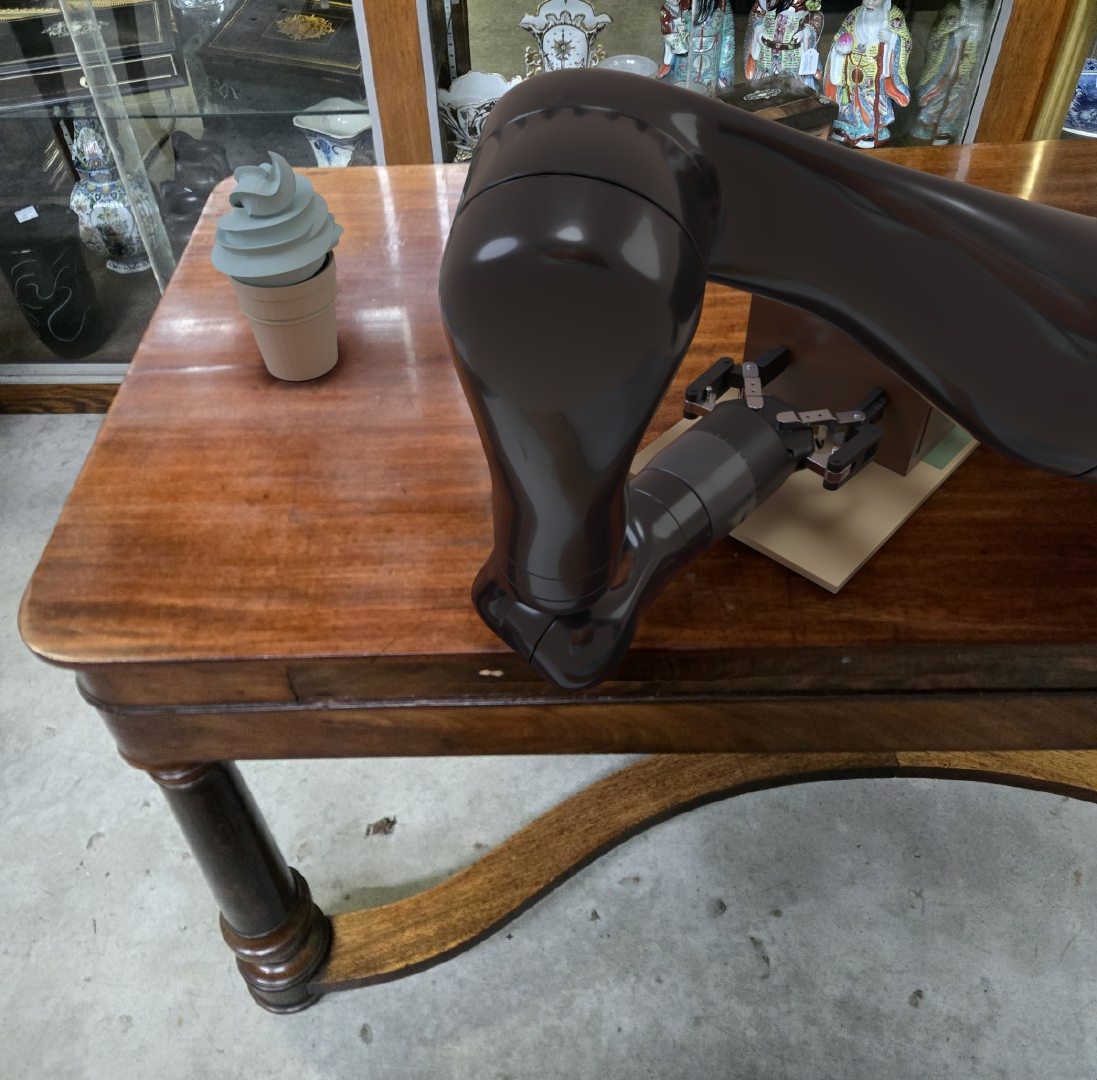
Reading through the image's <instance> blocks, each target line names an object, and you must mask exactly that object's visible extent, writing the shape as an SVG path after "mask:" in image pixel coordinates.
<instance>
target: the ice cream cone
mask: <svg viewBox="0 0 1097 1080" xmlns="http://www.w3.org/2000/svg"><path fill="white" fill-rule="evenodd" d="M267 153H268V155H269V157H270V158H271V164H270V163H267V162H263V163H260V165H258V166H256V165H242V166H237V167H236V169H234V171H233V178H234V180H235V181H236V183H237V185H236V186H235V187H234V188H233V190H232V191H231V192H230V193H229V195H228V202H229V205H230V206H231V207H232V208H233V209H232V210H231V211H229V212H226V213H225V214H223V215H222V216H220V217H219V218H218V219H217V220H216V226H215V227H217V228H216V229H215V231H214V234H213V235H214V236H213V237H214V241H215V242H216V243H215V244H214V246H213V247H212V249H211V252H210V262H211V264H212V266H213V267H214V268H215V270H217V271H218V272H220V273H222V274H224V275H227V278H228V281H229V284H230V287H231V288H232V289H233V291H234V295H235V298H236V301H237V304H238V306H239V308H240V310H241V312H242V314H243V315H244V316H245V317H246V319H247V321H248V324H249V326H250V329H251V331H252V334H253V336H254V339H255V341H256V344H257V346H258V348H259V351H260V353H261V357H262V359H263V361H264V363H265V366H266V369H267V370H268V373H270V374H271V375H272V376H273V377H275V378H278V379H280V380H284V381H290V382H291V381H292V382H302V381H308V380H313V379H316V378H319V377H321V376H323V375H325V374H327V373H328V372H330V371H331V370H333V368H334V367H335V366H336V364H337V362H338V360H339V350H338V349H339V348H338V333H337V332H338V329H337V312H336V301H337V298H338V281H337V274H336V273H337V263H336V256H335V252H334V250H333V249H335V248H336V247H337V246H339V244H340V238H341V237H342V235H343V234H344V232H345V228H344V226H342V225H341V224H338V223H337V222H335V220H336V216H335V215H334V214H333V213H332V212H329V206H328V202H327V201H326V199H325V197H323V196H322V195H321V194H320V193H319V192H317V191H315V188H314V184H313V182H312V181H311V180H310V179H309V178H308V176H305V175H304V174H301V173H298V172H294V169H293V168H292V166H291V164H290V163H289V162H288V161H287V159H286V158H285V157H284V156H282V155H281V154H279V153H278V152H276V151H275V152H274V151H271V150H267Z"/></svg>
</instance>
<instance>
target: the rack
mask: <svg viewBox="0 0 1097 1080" xmlns="http://www.w3.org/2000/svg"><path fill="white" fill-rule="evenodd" d="M747 319H748V320H747V325H746V326H747V327H746V334H745V340H744V347H743V357H742V361H741V362H742V363H741V365H743V364H744V363H745V362H753V361H754V360H756V359H757V358H758V357H759V356H761V355H762V354H763V353H765V352H766V351H767V350H770V349H777V348H778V347H779V346H783V347H786V348H788V349H789V356H788V362H787V367H786V369H785V370H784V372H782V373H781V374H780V375H779V376H777V377H776V378H775V379H774V380H773V381H771V382H770V383H769V384H768V385H766V386H765V387H764V388H763V389H761V390H762V395H764V396H771V395H775V396H777V397H779V398H781V399H782V400H784V401H785V402H786V403H788V404H791V405H794V406H798V407H800V408H802V409H805V410H807V411H814V410H822V409H831V410H832V412H833V413H839V412H846V411H852V409H853V407H854V406H855V405H856V404H858V403H859V402H860V401H861V400H862V399H863V398H864V397H865V396H866V395H868V394H869V393H870V392H871V391H872V390H873V389H874V388H876V387H877V388H879V389H881V390H883V391H885V394H884V398H885V399H887V401H886V405H885V409H884V413H883V416H882V419H880V420H879V421H878V422H877V423H876V425H879V426H881V427H882V428H883V434H882V438H881V442H880V445H879V449H878V453H877V457H876V458H875V459H874V460H873V462H875V463H877V464H879V465H881V466H884V467H886V468H888V469H890V470H892V471H894V472H896V473H898V474H900V475H902V476H904V477H905V476H906V475H907V474H908V473H909V472H910V471H911V470H912V469H913V468H914V467H915V466H916V465H917V464H918V463H919V462H920V461H921V460H922V459H923V458H924V457H925V456H926V455H927V454H928V453H929V452H930V451H931V450H932V449H933V448H934V447H935V446H936V445H937V444H938V443H939V442H940V441H941V440H942V439H943V438H944V437H945V436H946V435H947V434H948V433H949V432H950V431H951V430H952V429H953V428H954V427H955V426H956V425H955V424H954V423H953V422H951V421H950V420H949V419H947V418H946V417H945V416H943V415H942V414H941V413H940V412H938V411H937V410H936V409H934V408H933V407H932V406H930V405H929V404H928V403H927V402H926V401H924V400H923V399H922V398H921V397H920V396H918V395H917V394H916V393H915V392H914V391H912V390H911V389H910V388H909V387H908V386H906V385H905V384H904V383H903V382H902V381H901V380H899V379H898V378H897V377H896V376H895V375H894V374H892V373H891V372H890V371H889V370H888V369H887V368H885V367H884V366H883V365H882V364H881V363H880V362H878V361H877V360H876V359H875V358H874V357H872V356H871V355H870V354H869V353H867V352H866V351H865V350H864V349H862V348H861V347H860V346H859V345H857V344H856V343H855V342H853V341H852V340H851V339H849V338H848V337H847V336H845V335H844V334H842V333H841V332H839V331H837V330H836V329H834V328H832V327H831V326H829V325H827V324H826V323H824V322H823V321H821V320H819V319H817V318H815V317H813V316H811V315H809V314H807V313H804V312H802V311H800V310H798V309H795V308H793V307H790V306H788V305H785V304H783V303H780V302H778V301H774V300H771V299H767V298H764V297H761V296H757V295H754V294H751V297H750V304H749V312H748V318H747ZM738 397H739V391H738ZM819 427H820V426H815V427H813V433H814V434H817V435H818V431H819ZM845 430H846V427H842V428H838V429H837V430H836V432H835V433H839V432H845Z"/></svg>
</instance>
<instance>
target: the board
mask: <svg viewBox="0 0 1097 1080" xmlns="http://www.w3.org/2000/svg"><path fill="white" fill-rule="evenodd" d="M738 391H739V389H737V388H732V387H731V388H730V389H729V390H728V391H727V392H726V393H725V394H723V395H722V396H721V397H720V398H719V399H718V400H717V401H716V402H715V403H716V404H718V403H719V402H721V401H726V400H733V399H739V397H738ZM701 418H702V416H699V417H698V418H697V419H695V420H688V419H686V418H684V417H683V418H682V419H681V420H679V421H678V422H677V423H675V424H674V425H673V426H672V427H670V428H669V429H667V430H666V431H665V432H664V433H662V434H661V435H660V436H658V437H657V438H656V439H655V440H653V441H652V442H651V443H649V444H648V445H646V446H645V447H644V448H642V449H641V450H640V451H639V452H638V453H636V455H635V457H634V460H633V462H632V465H631V468H630V471H629V474H628V480H630V479H631V478H633V477H634V476H635V475H636V474H638V473H639V472H640V471H641V470H642V469H643V468H644V467H645V466H646V464H647V463H648V462H649V461H650V460H651V459H652V458H653V457H654V456H655V455H656V454H657V453H658V452H659V451H661V450H662V449H663V448H664V447H666V446H667V445H668V444H670V443H671V442H672V441H673V440H675V439H676V438H677V437H678V436H679V435H681V434H682V433H683V432H685V431H686V430H687V429H688V428H690V427H691V426H692V425H693V424H695V423H696V422H697V421H698V420H700V419H701ZM813 434H814V433H813ZM817 436H818V435H817V434H814V439H816V437H817ZM981 444H982V443H980V442H978V441H977V440H976V439H974V438H973V437H971V436H970V435H969V434H967V433H966V432H964V431H963V430H962V429H960V428H959V427H958V426H955V427H954V428H953V429H952V430H951V431H950V432H949V433H948V434H947V435H946V436H945V437H944V438H943V439H942V440H941V441H940V442H939V443H938V444H937V445H936V446H935V447H934V448H933V449H932V450H931V451H930V452H929V453H928V454H927V455H926V456H925V457H924V458H923V459H922V460H921V461H920V462H919V463H918V464H917V465H916V466H915V467H914V468H913V469H912V470H911V471H910V472H909V473H908V474H907V475H906V476H905V477H904V476H902V475H900V474H898V473H896V472H894V471H892V470H890V469H888V468H886V467H884V466H881V465H879V464H877V463H875V462H873V461H872V462H871V463H869V464H868V465H867V466H866V467H864V468H863V469H862V470H861V471H860V472H858V473H857V474H856V475H855V476H854V477H852V478H851V479H850V480H849V481H848V482H846V483H845V484H844V485H843V486H841V487H840V488H839V489H838V490H836V491H829V490H826V489H825V488H824V487H823V485H822V484H823V479H824V477H822V476H820V475H818V474H816V473H815V472H813V471H811V470H809V469H805V470H802V471H798V472H795V473H793V474H791V475H790V476H789V477H788V479H787V480H786V481H785V482H784V483H783V485H782V486H781V487H780V488H779V489H778V490H777V491H775V492H774V493H773V494H772V495H771V496H770V497H769V498H768V499H767V500H766V501H764V502H763V503H762V504H761V505H760V506H759V507H758V508H757V509H756V510H755V511H753V512H752V513H751V514H750V515H749V517H748V518H747V519H746V520H745V521H744V522H743V523H741V524H739V525H738V526H737V527H736V528H735V529H734V530H732V531H731V532H730V533H729V534H728V535H729V536H731V537H732V538H735V540H738V541H739V542H740V543H743V544H745V545H746V546H748V547H750V548H752V549H754V550H756V551H757V552H759V553H761V554H763V555H765V556H766V557H768V558H770V559H772V560H774V562H777V563H779V564H780V565H782V566H784V567H785V568H788V569H789V570H791V571H793V572H795V573H797V574H798V575H800V576H802V577H804V578H805V579H807V580H809V581H810V582H812V583H814V584H816V585H818V586H820V587H821V588H823V589H825V590H827V591H829V593H830V592H831V593H832V594H834V595H837V593H838V592H839V591H840V590H841V589H843V587H844V586H846V584H847V583H848V582H849V581H850V580H851V579H852V578H853V577H854V575H855V574H857V573H858V571H860V569H862V567H863V566H864V565H865V564H866V563H867V562H868V561H869V560H870V559H871V558H872V557H873V556H874V555H875V554H876V553H877V552H878V551H879V549H881V547H883V545H885V544H886V542H887V541H888V540H889V539H890V538H891V537H892V536H893V535H894V534H895V533H896V532H897V531H898V530H899V529H900V528H901V527H902V526H903V524H905V522H907V521H908V519H910V517H911V516H913V514H914V513H916V511H917V510H918V509H919V508H920V507H921V506H922V505H923V504H924V503H925V502H926V501H927V500H928V499H929V498H930V497H931V496H932V494H934V493H935V492H936V490H938V489H939V487H941V485H943V484H944V482H945V481H946V480H947V479H948V478H949V477H950V476H951V475H952V474H953V473H954V472H955V471H956V470H957V469H958V467H960V466H961V465H962V463H964V461H966V459H968V457H969V456H971V454H972V453H973V452H974V451H975V450H977V448H979V446H980V445H981Z"/></svg>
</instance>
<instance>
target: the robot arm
mask: <svg viewBox="0 0 1097 1080" xmlns="http://www.w3.org/2000/svg"><path fill="white" fill-rule="evenodd" d="M449 229H450V230H449V234H448V235H447V239H446V241H445V246H444V249H443V253H442V257H441V261H440V266H439V276H438V291H437V292H438V295H437V296H438V307H439V311H440V318H441V324H442V328H443V332H444V337H445V340H446V343H447V347H448V350H449V353H450V356H451V360H452V363H453V366H454V368H455V372H456V374H457V378H458V380H459V382H460V383H459V384H460V385H461V388H462V390H463V394H464V397H465V399H466V402H467V404H468V407H469V409H470V412H471V415H472V417H473V420H474V424H475V426H476V430H477V433H478V436H479V438H480V442H481V445H482V449H483V452H484V456H485V458H486V461H487V465H488V469H489V470H488V471H489V474H490V481H491V497H492V499H491V500H492V527H493V547H492V550H491V551H490V553H489V556H488V557H487V559H486V560H485V562H484V563H483V564H482V566H481V567H480V569H479V571H478V572H477V574H476V576H475V578H474V580H473V582H472V585H471V589H470V598H471V602H472V606H473V608H474V610H475V612H476V614H477V615H478V617H479V618H480V620H481V621H482V622H483V624H484V625H485V626H486V627H487V628H488V629H489V630H490V631H491V632H492V633H493V634H495V636H497V638H499V639H500V640H501V641H502V642H503V643H504V644H506V645H507V646H508V648H510V649H511V650H512V651H513V652H514V653H515V654H516V655H517V656H519V657H520V658H521V659H522V660H523V661H525V662H526V663H527V664H528V665H529V666H530V667H531V668H532V669H533V671H535V672H536V673H537V674H538V675H539V676H540V677H541V678H543V680H544V681H546V682H547V683H548V684H550V685H551V686H552V687H554V688H555V689H557V690H560V691H561V692H566V693H581V692H585V691H589V690H591V689H594V688H596V687H598V686H600V685H601V684H603V683H604V682H606V681H607V680H608V679H609V678H610V677H611V676H613V674H614V672H616V670H617V669H618V667H619V665H620V664H621V662H623V659H624V658H625V656H626V655H627V653H628V651H629V649H630V647H631V646H632V643H633V641H634V639H635V637H636V635H637V634H638V632H639V629H640V628H641V627H642V624H643V622H644V620H645V619H646V617H647V615H648V614H649V612H650V610H651V608H653V606H654V604H655V603H656V601H657V600H658V598H660V596H661V595H662V593H663V592H664V591H665V590H666V588H667V587H668V586H669V585H670V584H671V583H672V582H673V581H674V579H675V578H677V577H678V576H679V575H680V574H681V573H682V572H684V570H685V569H687V568H688V567H689V566H690V565H691V564H692V563H693V562H695V560H697V558H699V557H700V556H701V555H702V554H703V553H704V552H705V551H706V550H708V549H709V548H710V547H712V546H713V545H715V544H716V543H719V542H720V541H721V540H723V539H724V538H726V537H727V536H728V535H729V533H730V532H731V531H732V530H734V529H735V528H736V527H737V526H738V525H739V524H741V523H743V522H744V521H745V520H746V519H747V518H748V517H749V515H750V514H751V513H752V512H753V511H755V510H756V509H757V508H758V507H759V506H760V505H761V504H762V503H763V502H764V501H766V500H767V499H768V498H769V497H770V496H771V495H772V494H773V493H774V492H775V491H777V490H778V489H779V488H780V487H781V486H782V485H783V483H784V482H785V481H786V480H787V479H788V477H789V476H790V475H791V474H793V473H795V472H798V471H802V470H805V469H809V470H811V471H813V472H815V473H816V474H818V475H820V476H822V477H824V479H823V484H822V485H823V487H824V488H825V489H826V490H829V491H836V490H838V489H839V488H840V487H841V486H843V485H844V484H845V483H846V482H848V481H849V480H850V479H851V478H852V477H854V476H855V475H856V474H857V473H858V472H860V471H861V470H862V469H863V468H864V467H866V466H867V465H868V464H869V463H871V462H872V461H873V460H874V459H875V458H876V457H877V453H878V449H879V445H880V442H881V438H882V434H883V428H882V427H881V426H879V425H876V423H877V422H878V421H879V420H880V419H882V416H883V413H884V409H885V405H886V401H887V399H885V398H884V394H885V391H883V390H881V389H879V388H877V387H876V388H874V389H873V390H872V391H871V392H870V393H869V394H868V395H866V396H865V397H864V398H863V399H862V400H861V401H860V402H859V403H858V404H856V405H855V406H854V407H853V409H852V411H846V412H839V413H833V412H832V410H831V409H822V410H814V411H807V410H805V409H802V408H800V407H798V406H794V405H791V404H788V403H786V402H785V401H784V400H782V399H781V398H779V397H777V396H775V395H771V396H764V395H762V390H761V389H763V388H764V387H765V386H766V385H768V384H769V383H770V382H771V381H773V380H774V379H775V378H776V377H777V376H779V375H780V374H781V373H782V372H784V370H785V369H786V367H787V362H788V356H789V349H788V348H786V347H783V346H779V347H778V348H777V349H770V350H767V351H766V352H765V353H763V354H762V355H761V356H759V357H758V358H757V359H756V360H754V361H753V362H745V363H744V364H743V365H742V364H738V363H735V359H734V358H733V357H730V356H722V357H720V358H719V359H717V360H716V361H715V362H714V363H713V364H711V365H710V366H709V367H708V368H707V369H706V370H705V371H704V372H702V373H701V374H700V375H699V376H698V377H697V378H695V379H694V380H693V381H692V382H690V384H688V385H687V386H686V387H685V389H684V390H685V391H684V399H683V410H682V411H683V413H682V416H683V418H686V419H688V420H695V419H697V418H698V417H699V416H702V418H701V419H700V420H698V421H697V422H696V423H695V424H693V425H692V426H691V427H690V428H688V429H687V430H686V431H685V432H683V433H682V434H681V435H679V436H678V437H677V438H676V439H675V440H673V441H672V442H671V443H670V444H668V445H667V446H666V447H664V448H663V449H662V450H661V451H659V452H658V453H657V454H656V455H655V456H654V457H653V458H652V459H651V460H650V461H649V462H648V463H647V464H646V466H645V467H644V468H643V469H642V470H641V471H640V472H639V473H638V474H636V475H635V476H634V477H633V478H631V479H629V478H628V474H629V471H630V468H631V465H632V462H633V460H634V457H635V455H636V454H637V452H638V449H639V448H640V445H641V443H642V442H643V439H644V438H645V435H646V434H647V432H648V430H649V428H650V426H651V424H652V422H653V421H654V419H655V417H656V415H657V413H658V411H659V409H660V408H661V405H662V403H663V402H664V400H665V397H666V396H667V393H668V391H669V390H670V388H671V386H672V384H673V382H674V380H675V378H676V376H677V374H678V372H679V370H680V368H681V366H682V364H683V362H684V361H685V358H686V356H687V355H688V352H689V349H690V348H691V345H692V343H693V340H694V338H695V335H696V333H697V330H698V328H699V324H700V322H701V317H702V314H703V309H704V308H703V307H704V302H705V294H706V286H707V283H711V284H715V285H720V286H723V287H727V288H731V289H734V290H738V291H741V292H744V293H748V294H751V295H752V294H754V295H757V296H761V297H764V298H767V299H771V300H774V301H778V302H780V303H783V304H785V305H788V306H790V307H793V308H795V309H798V310H800V311H802V312H804V313H807V314H809V315H811V316H813V317H815V318H817V319H819V320H821V321H823V322H824V323H826V324H827V325H829V326H831V327H832V328H834V329H836V330H837V331H839V332H841V333H842V334H844V335H845V336H847V337H848V338H849V339H851V340H852V341H853V342H855V343H856V344H857V345H859V346H860V347H861V348H862V349H864V350H865V351H866V352H867V353H869V354H870V355H871V356H872V357H874V358H875V359H876V360H877V361H878V362H880V363H881V364H882V365H883V366H884V367H885V368H887V369H888V370H889V371H890V372H891V373H892V374H894V375H895V376H896V377H897V378H898V379H899V380H901V381H902V382H903V383H904V384H905V385H906V386H908V387H909V388H910V389H911V390H912V391H914V392H915V393H916V394H917V395H918V396H920V397H921V398H922V399H923V400H924V401H926V402H927V403H928V404H929V405H930V406H932V407H933V408H934V409H936V410H937V411H938V412H940V413H941V414H942V415H943V416H945V417H946V418H947V419H949V420H950V421H951V422H953V423H954V424H955V425H956V426H958V427H959V428H960V429H962V430H963V431H964V432H966V433H967V434H969V435H970V436H971V437H973V438H974V439H976V440H977V441H978V442H980V443H981V444H982V445H983V446H985V447H986V448H988V449H989V450H991V452H994V453H996V454H998V455H1000V456H1002V457H1004V458H1006V459H1007V460H1009V461H1011V462H1014V463H1017V464H1019V465H1022V466H1025V467H1028V468H1032V469H1035V470H1038V471H1042V472H1044V473H1047V474H1051V475H1056V476H1059V477H1064V478H1067V479H1071V480H1076V481H1080V482H1084V483H1089V484H1092V485H1097V217H1095V216H1091V215H1086V214H1082V213H1077V212H1074V211H1071V210H1067V209H1062V208H1058V207H1055V206H1052V205H1049V204H1048V205H1047V204H1044V203H1041V202H1036V201H1033V200H1029V199H1025V198H1021V197H1017V196H1014V195H1011V194H1008V193H1004V192H1001V191H997V190H993V189H989V188H986V187H982V186H978V185H974V184H971V183H968V182H965V181H961V180H957V179H953V178H949V177H946V176H942V175H939V174H935V173H930V172H926V171H923V170H920V169H916V168H913V167H908V166H905V165H901V164H898V163H895V162H891V161H888V160H885V159H882V158H880V157H877V156H873V155H870V154H867V153H864V152H862V151H858V150H855V149H852V148H850V147H846V146H843V145H841V144H838V143H835V142H833V141H830V140H827V139H824V138H822V137H818V136H815V135H813V134H812V133H811V134H810V133H808V132H805V131H802V130H799V129H797V128H794V127H791V126H789V125H786V124H785V123H781V122H778V121H775V120H773V119H770V118H767V117H764V116H763V115H759V114H756V113H753V112H751V111H748V110H745V109H743V108H740V107H737V106H735V105H733V104H729V103H727V102H724V101H722V100H719V99H716V98H713V97H711V96H708V95H705V94H703V93H701V92H697V91H694V90H691V89H689V88H685V87H682V86H679V85H676V84H673V83H670V82H666V81H664V80H661V79H659V78H658V79H657V78H653V77H650V76H648V75H643V74H639V73H635V72H631V71H626V70H625V71H624V70H618V69H611V68H604V67H563V68H558V69H555V70H550V71H545V72H542V73H541V72H540V73H537V74H536V75H533V76H530V77H528V78H527V79H525V80H523V81H521V82H519V83H517V84H515V85H513V86H512V87H511V88H509V90H507V91H506V92H505V93H504V94H502V95H501V97H500V98H499V99H498V100H497V101H496V102H495V104H494V105H493V107H492V108H491V110H490V111H489V113H488V115H487V117H486V119H485V121H484V123H483V126H482V128H481V131H480V133H479V135H478V138H477V142H476V144H475V148H474V151H473V153H472V156H471V160H470V162H469V166H468V170H467V174H466V178H465V181H464V185H463V188H462V191H461V194H460V197H459V200H458V204H457V207H456V210H455V213H454V217H453V221H452V224H451V227H450V228H449ZM731 387H732V388H737V389H739V399H733V400H726V401H721V402H719V403H718V404H716V403H715V402H716V401H717V400H718V399H719V398H720V397H721V396H722V395H723V394H725V393H726V392H727V391H728V390H729V389H730V388H731ZM815 426H820V427H819V431H818V436H817V437H816V439H814V434H813V427H815ZM842 427H846V430H845V432H839V433H835V432H836V430H837V429H838V428H842Z"/></svg>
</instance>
